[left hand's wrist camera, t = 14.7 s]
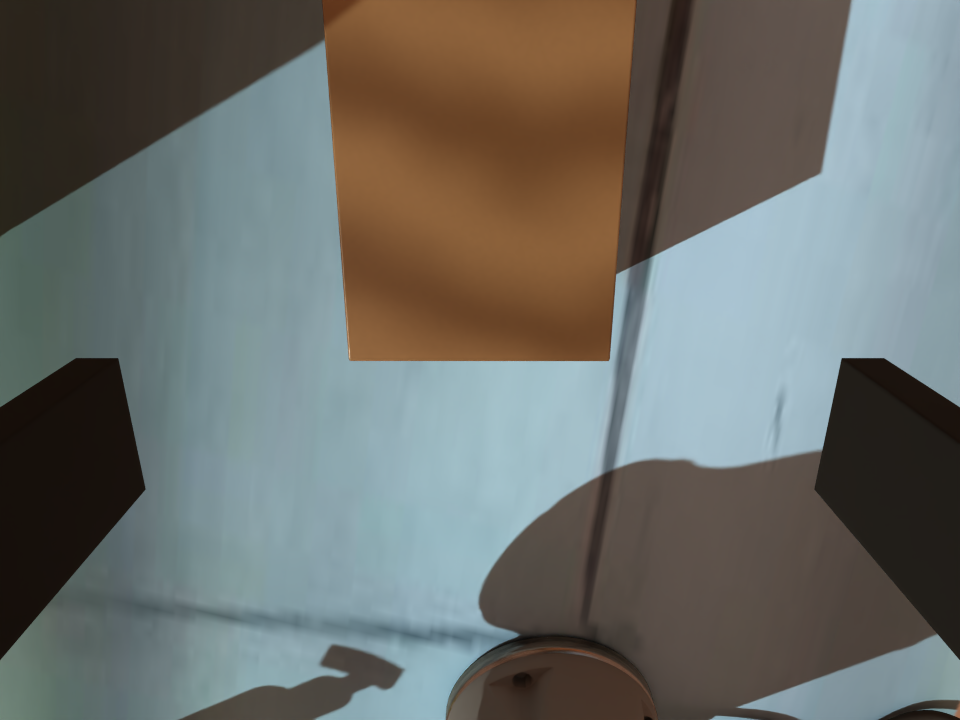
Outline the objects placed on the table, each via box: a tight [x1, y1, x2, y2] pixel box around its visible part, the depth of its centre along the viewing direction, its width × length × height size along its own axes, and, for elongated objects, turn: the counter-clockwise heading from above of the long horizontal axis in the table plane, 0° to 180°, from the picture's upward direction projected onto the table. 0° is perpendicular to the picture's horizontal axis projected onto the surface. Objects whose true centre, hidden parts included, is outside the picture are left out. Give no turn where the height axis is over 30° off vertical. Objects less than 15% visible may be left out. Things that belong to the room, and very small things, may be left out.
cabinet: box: [322, 0, 637, 361], centre depth 30 cm, size 20×11×10 cm, turn 0°
